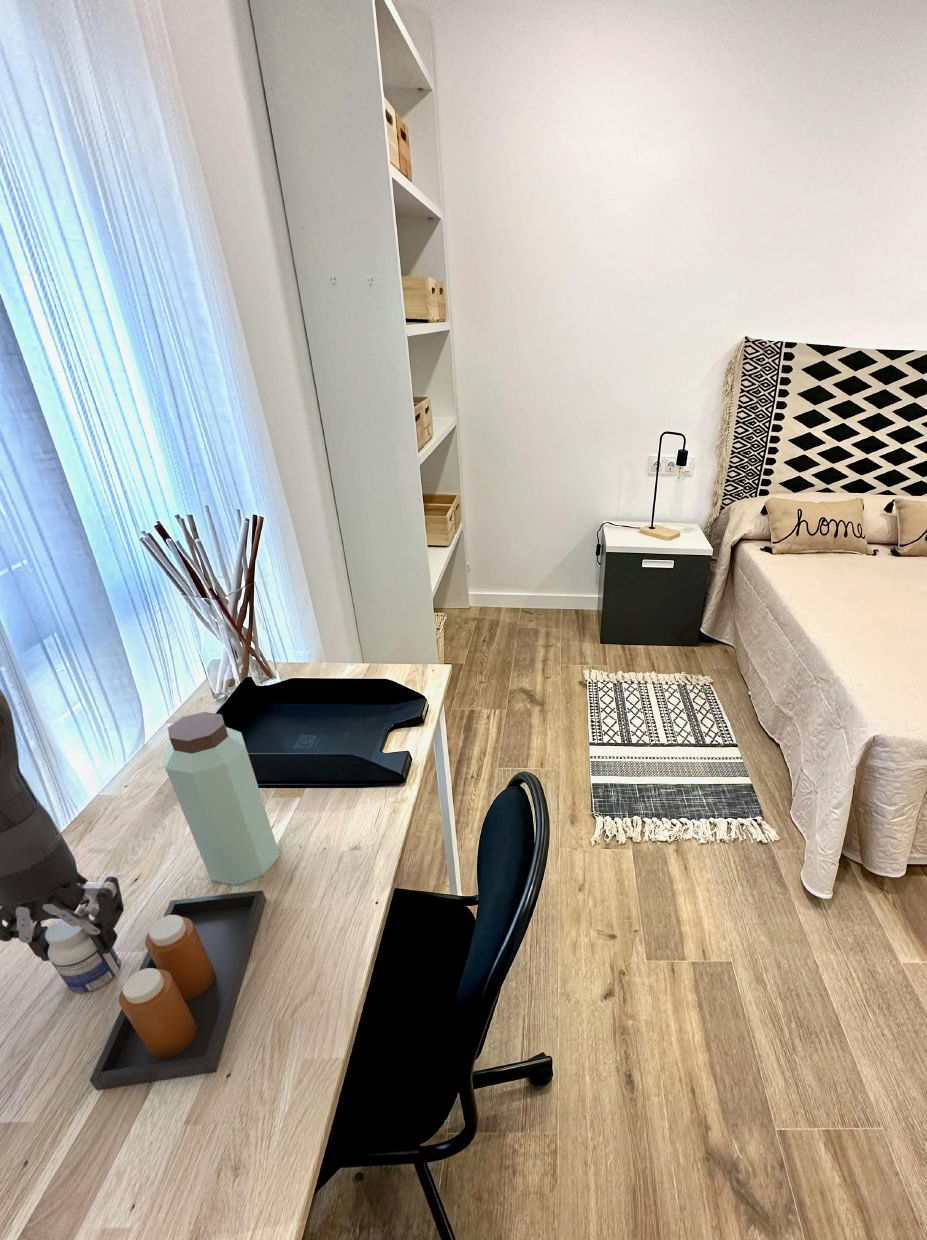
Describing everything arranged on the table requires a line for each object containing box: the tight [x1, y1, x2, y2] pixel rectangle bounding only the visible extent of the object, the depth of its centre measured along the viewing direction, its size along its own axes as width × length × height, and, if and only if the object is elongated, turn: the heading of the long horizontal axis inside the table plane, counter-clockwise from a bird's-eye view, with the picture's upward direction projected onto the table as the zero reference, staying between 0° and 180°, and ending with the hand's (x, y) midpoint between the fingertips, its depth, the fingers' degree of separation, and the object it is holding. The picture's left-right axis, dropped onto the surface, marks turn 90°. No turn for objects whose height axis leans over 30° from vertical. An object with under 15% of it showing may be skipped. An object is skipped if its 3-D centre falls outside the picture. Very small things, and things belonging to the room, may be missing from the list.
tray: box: [89, 889, 267, 1091], centre depth 76 cm, size 12×24×3 cm, turn 10°
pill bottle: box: [45, 919, 122, 995], centre depth 75 cm, size 5×5×10 cm
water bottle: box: [162, 711, 281, 886], centre depth 87 cm, size 10×10×25 cm
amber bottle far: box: [118, 968, 197, 1059], centre depth 68 cm, size 5×5×10 cm
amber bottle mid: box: [144, 915, 215, 1000], centre depth 74 cm, size 5×5×10 cm
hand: (80, 950), depth 75 cm, fingers closed on pill bottle, 5 cm apart
